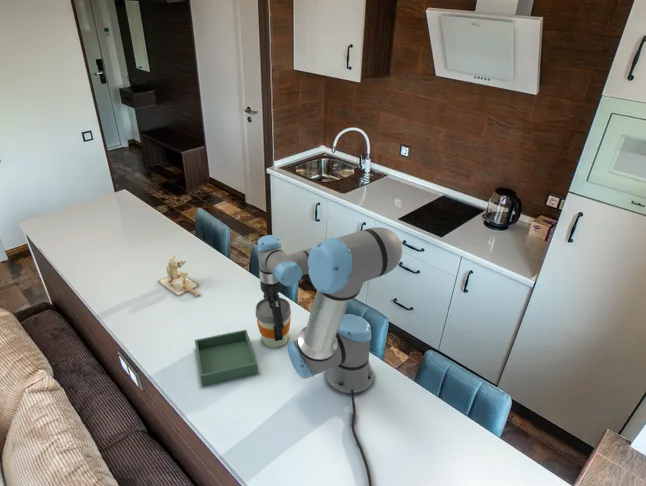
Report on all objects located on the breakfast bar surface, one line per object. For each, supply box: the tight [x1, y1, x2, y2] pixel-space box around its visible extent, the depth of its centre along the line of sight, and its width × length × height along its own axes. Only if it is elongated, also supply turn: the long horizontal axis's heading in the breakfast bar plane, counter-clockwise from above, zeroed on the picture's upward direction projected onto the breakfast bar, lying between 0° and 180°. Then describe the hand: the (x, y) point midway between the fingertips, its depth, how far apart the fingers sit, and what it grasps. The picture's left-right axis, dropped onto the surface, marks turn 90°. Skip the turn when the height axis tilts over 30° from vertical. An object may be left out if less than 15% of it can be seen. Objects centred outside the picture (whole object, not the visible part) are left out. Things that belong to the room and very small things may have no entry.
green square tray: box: [194, 329, 259, 387], centre depth 156 cm, size 19×19×5 cm
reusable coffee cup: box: [255, 296, 292, 348], centre depth 162 cm, size 13×13×15 cm
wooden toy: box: [159, 255, 200, 297], centre depth 192 cm, size 22×10×14 cm, turn 44°
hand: (274, 328), depth 164 cm, fingers closed on reusable coffee cup, 12 cm apart
